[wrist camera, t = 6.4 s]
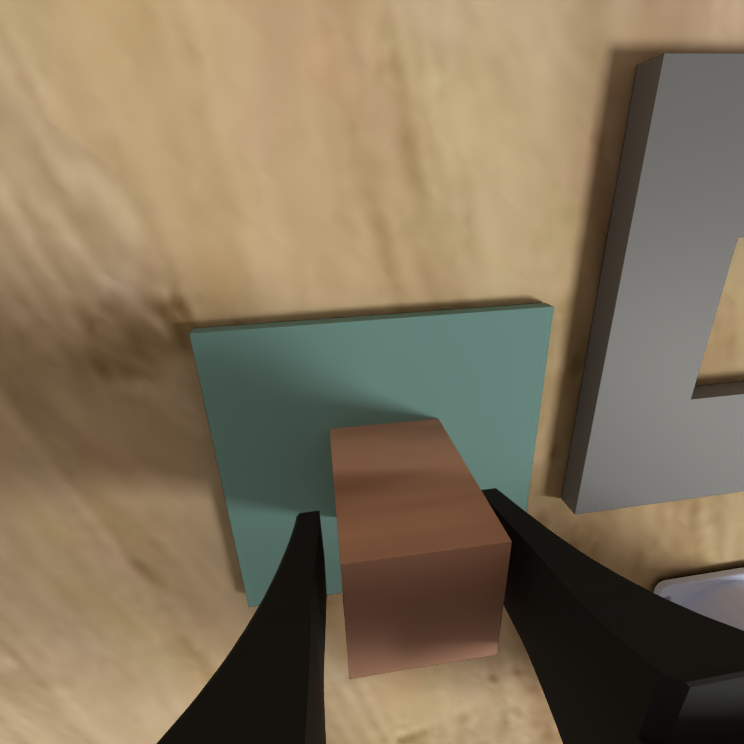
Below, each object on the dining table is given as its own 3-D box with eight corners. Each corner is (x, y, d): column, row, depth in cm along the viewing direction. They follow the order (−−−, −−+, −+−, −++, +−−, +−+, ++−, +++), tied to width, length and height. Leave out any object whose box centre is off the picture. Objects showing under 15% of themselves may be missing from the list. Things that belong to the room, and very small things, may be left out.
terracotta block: (435, 505, 17) (496, 654, 11) (336, 516, 16) (349, 679, 11) (438, 418, 15) (511, 541, 10) (329, 428, 15) (340, 564, 9)
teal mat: (512, 555, 19) (518, 565, 19) (250, 594, 18) (248, 606, 17) (544, 302, 15) (553, 306, 14) (194, 328, 13) (189, 333, 13)
